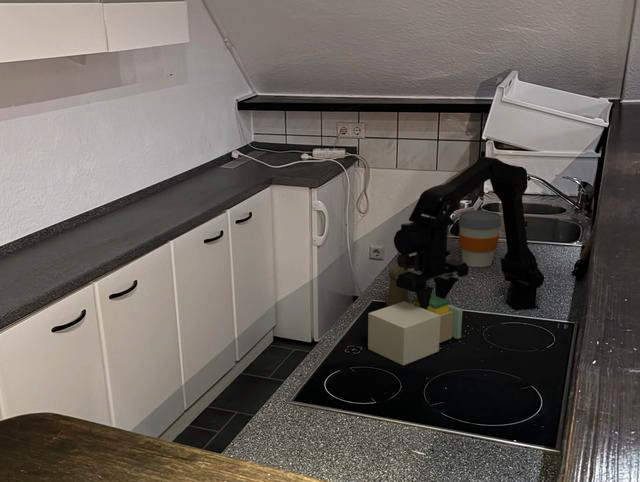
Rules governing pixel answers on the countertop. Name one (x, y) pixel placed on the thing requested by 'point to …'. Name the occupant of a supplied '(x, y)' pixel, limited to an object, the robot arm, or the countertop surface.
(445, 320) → the drawer
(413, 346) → the beige cube
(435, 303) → the sponge
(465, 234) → the reusable coffee cup
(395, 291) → the olive brown pawn
